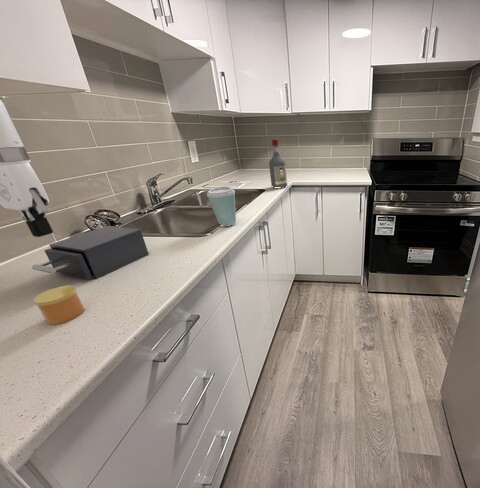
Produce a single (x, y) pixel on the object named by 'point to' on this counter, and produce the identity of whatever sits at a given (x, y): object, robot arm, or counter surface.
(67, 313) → the jar
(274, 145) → the liquor
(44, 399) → the counter surface
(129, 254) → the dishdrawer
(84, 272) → the drawer
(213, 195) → the disposable coffee cup
